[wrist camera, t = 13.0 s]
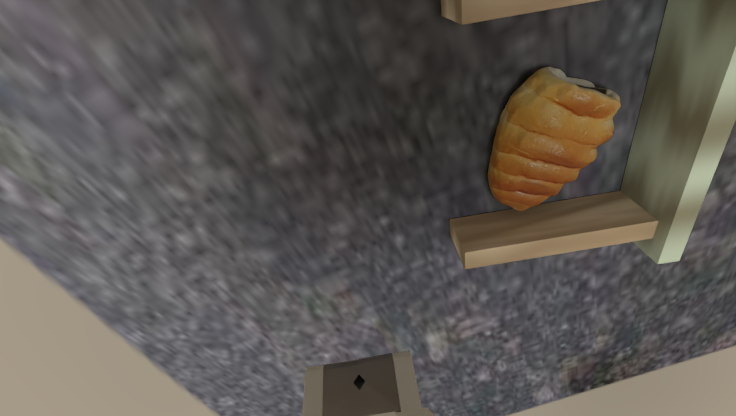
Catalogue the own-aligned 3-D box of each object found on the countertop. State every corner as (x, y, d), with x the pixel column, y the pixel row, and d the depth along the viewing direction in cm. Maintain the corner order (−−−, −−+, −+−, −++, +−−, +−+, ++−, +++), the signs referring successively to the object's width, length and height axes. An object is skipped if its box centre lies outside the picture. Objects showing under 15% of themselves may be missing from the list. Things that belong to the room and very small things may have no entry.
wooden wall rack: (438, -49, 19) (467, -54, 15) (721, -100, 19) (830, -119, 15) (450, 249, 30) (469, 294, 26) (630, 219, 30) (679, 260, 26)
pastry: (541, 205, 29) (566, 234, 26) (460, 187, 27) (477, 216, 24) (613, 83, 24) (655, 101, 21) (520, 56, 23) (550, 70, 19)
